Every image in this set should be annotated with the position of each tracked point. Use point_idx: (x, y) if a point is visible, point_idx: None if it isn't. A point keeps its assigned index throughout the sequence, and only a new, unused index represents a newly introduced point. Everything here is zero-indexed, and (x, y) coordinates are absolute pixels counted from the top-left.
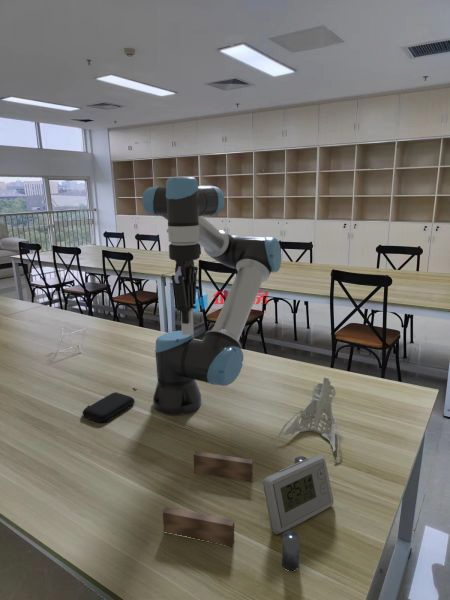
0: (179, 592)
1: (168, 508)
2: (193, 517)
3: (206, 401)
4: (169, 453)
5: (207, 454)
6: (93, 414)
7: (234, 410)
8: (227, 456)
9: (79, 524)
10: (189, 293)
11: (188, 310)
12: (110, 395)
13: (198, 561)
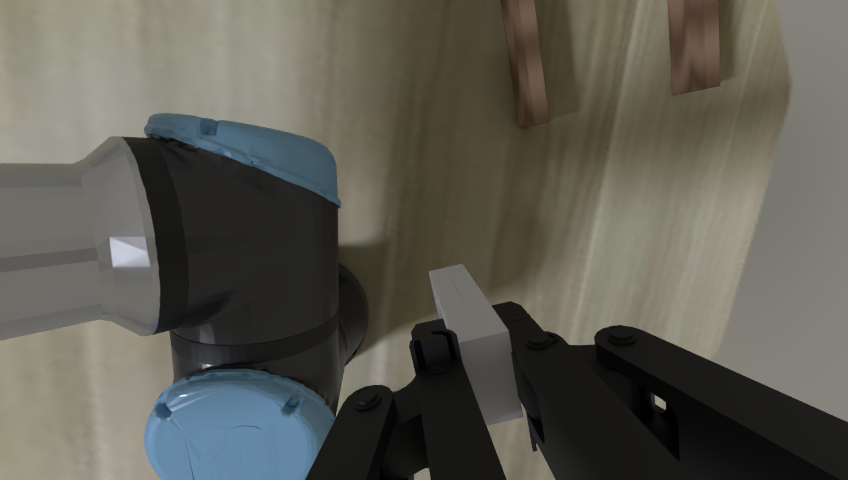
0: (772, 5)
1: (708, 80)
2: (717, 20)
3: None
4: (495, 209)
5: (536, 91)
6: None
7: None
8: (525, 40)
9: (706, 234)
10: (607, 468)
11: (556, 336)
12: None
13: (718, 4)
